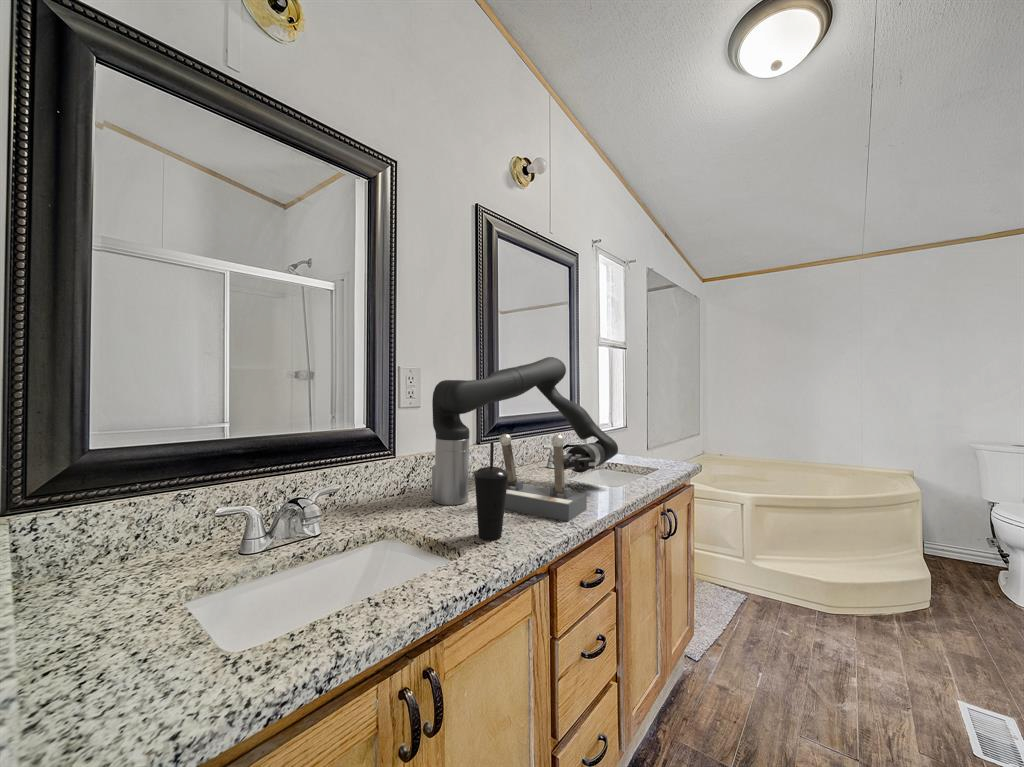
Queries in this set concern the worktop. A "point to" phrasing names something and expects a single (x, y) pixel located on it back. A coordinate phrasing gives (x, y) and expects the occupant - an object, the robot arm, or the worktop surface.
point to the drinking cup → (490, 499)
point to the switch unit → (545, 501)
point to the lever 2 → (558, 463)
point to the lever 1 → (508, 458)
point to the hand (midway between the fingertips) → (560, 466)
